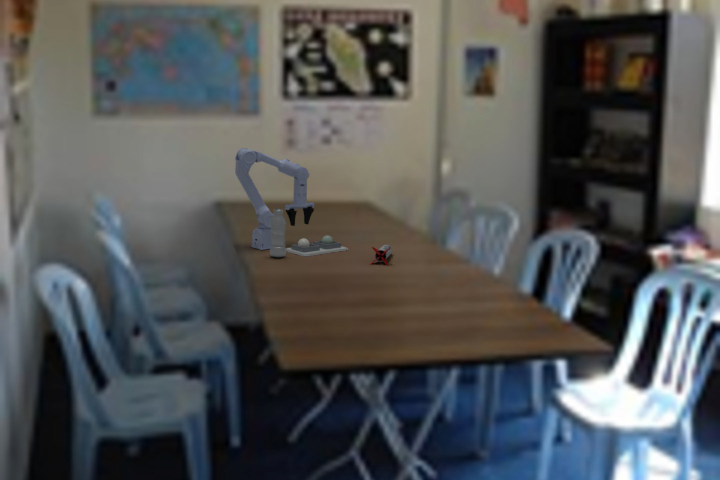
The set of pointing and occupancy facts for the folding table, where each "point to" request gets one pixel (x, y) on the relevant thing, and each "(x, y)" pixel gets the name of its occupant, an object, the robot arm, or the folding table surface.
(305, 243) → the ivory ball
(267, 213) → the robot arm
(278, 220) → the plastic bottle
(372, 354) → the folding table surface
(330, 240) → the sage ball
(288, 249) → the ball sorting tray
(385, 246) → the model rocket
